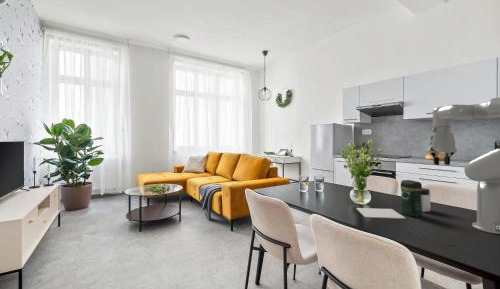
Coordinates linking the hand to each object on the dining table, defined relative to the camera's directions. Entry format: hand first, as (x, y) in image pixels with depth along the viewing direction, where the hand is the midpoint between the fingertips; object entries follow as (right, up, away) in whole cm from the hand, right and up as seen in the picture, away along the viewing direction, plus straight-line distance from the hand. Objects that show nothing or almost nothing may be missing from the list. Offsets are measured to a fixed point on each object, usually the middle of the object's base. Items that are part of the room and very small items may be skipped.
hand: (441, 164), depth 126 cm
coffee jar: (-14, -28, +3) cm, 31 cm away
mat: (-31, -28, +5) cm, 42 cm away
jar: (-3, -27, +11) cm, 30 cm away
